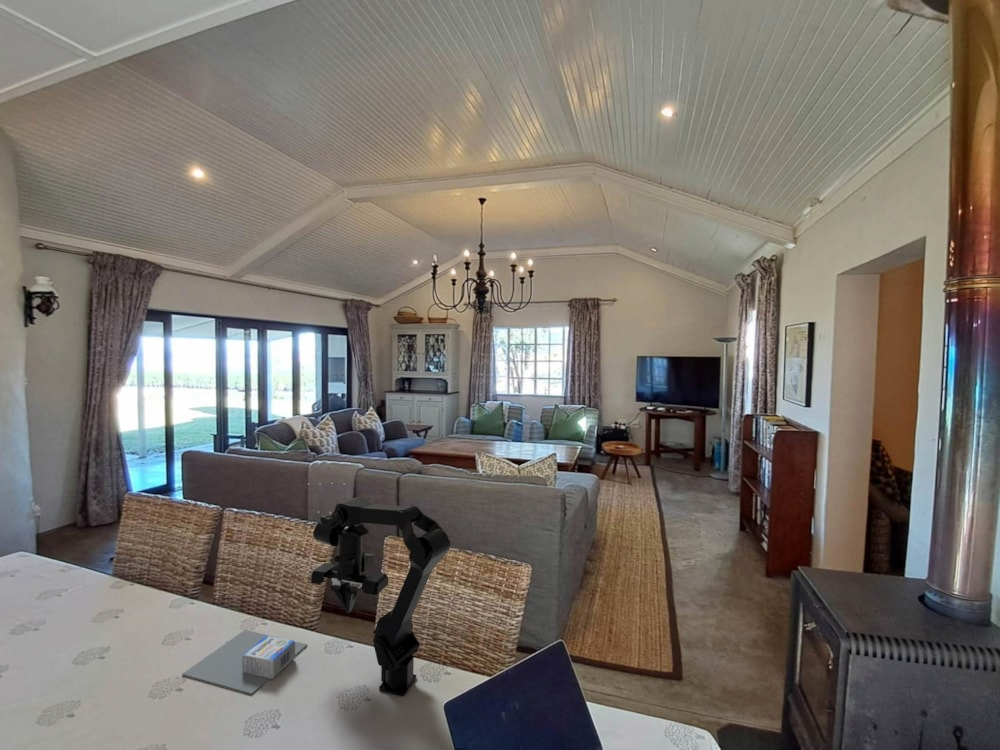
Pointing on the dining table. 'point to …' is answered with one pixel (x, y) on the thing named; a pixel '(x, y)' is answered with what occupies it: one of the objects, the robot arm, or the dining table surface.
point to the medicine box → (268, 657)
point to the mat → (232, 664)
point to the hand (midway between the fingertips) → (348, 611)
